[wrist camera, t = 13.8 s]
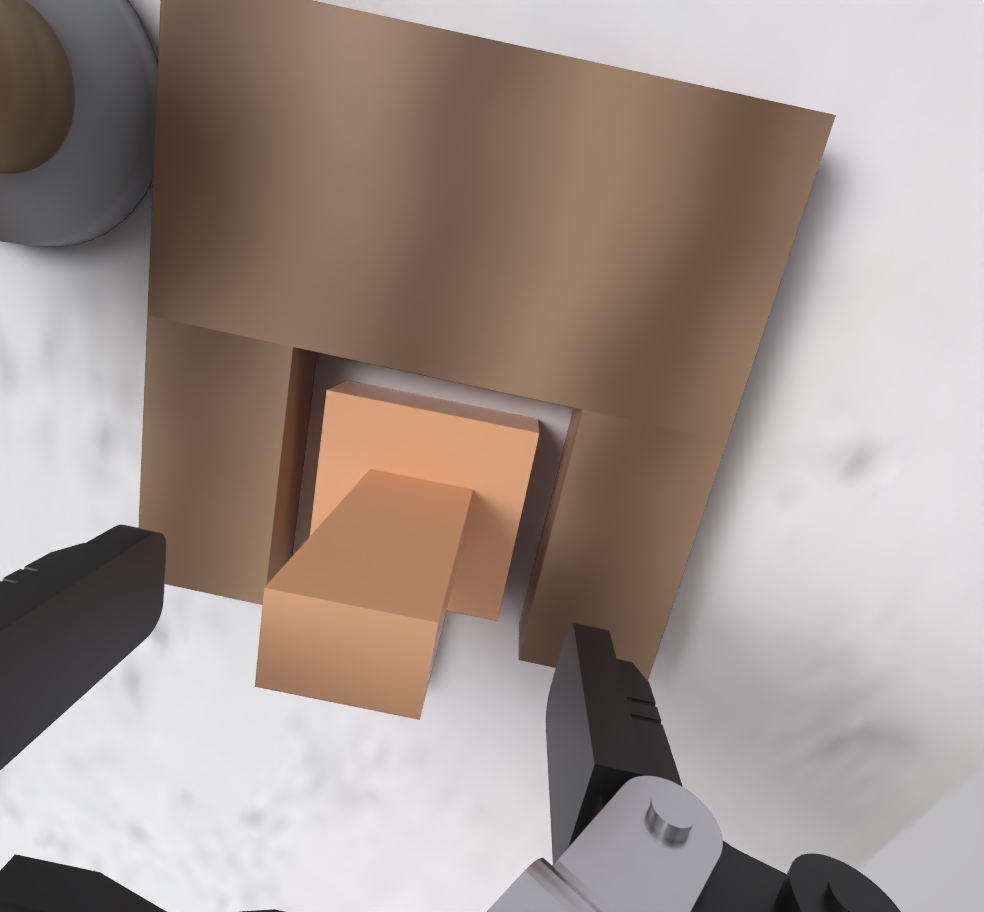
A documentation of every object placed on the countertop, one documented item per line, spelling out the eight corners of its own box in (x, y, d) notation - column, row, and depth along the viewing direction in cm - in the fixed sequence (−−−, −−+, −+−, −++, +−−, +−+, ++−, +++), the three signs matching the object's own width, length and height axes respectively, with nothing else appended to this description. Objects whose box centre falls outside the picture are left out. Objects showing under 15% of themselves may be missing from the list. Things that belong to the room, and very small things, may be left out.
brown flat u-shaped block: (796, 137, 15) (835, 115, 13) (633, 648, 20) (645, 686, 18) (207, 9, 15) (162, -33, 13) (174, 550, 20) (136, 577, 18)
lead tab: (537, 418, 18) (550, 533, 9) (478, 687, 21) (445, 971, 12) (348, 380, 18) (182, 458, 9) (313, 654, 21) (160, 914, 12)
